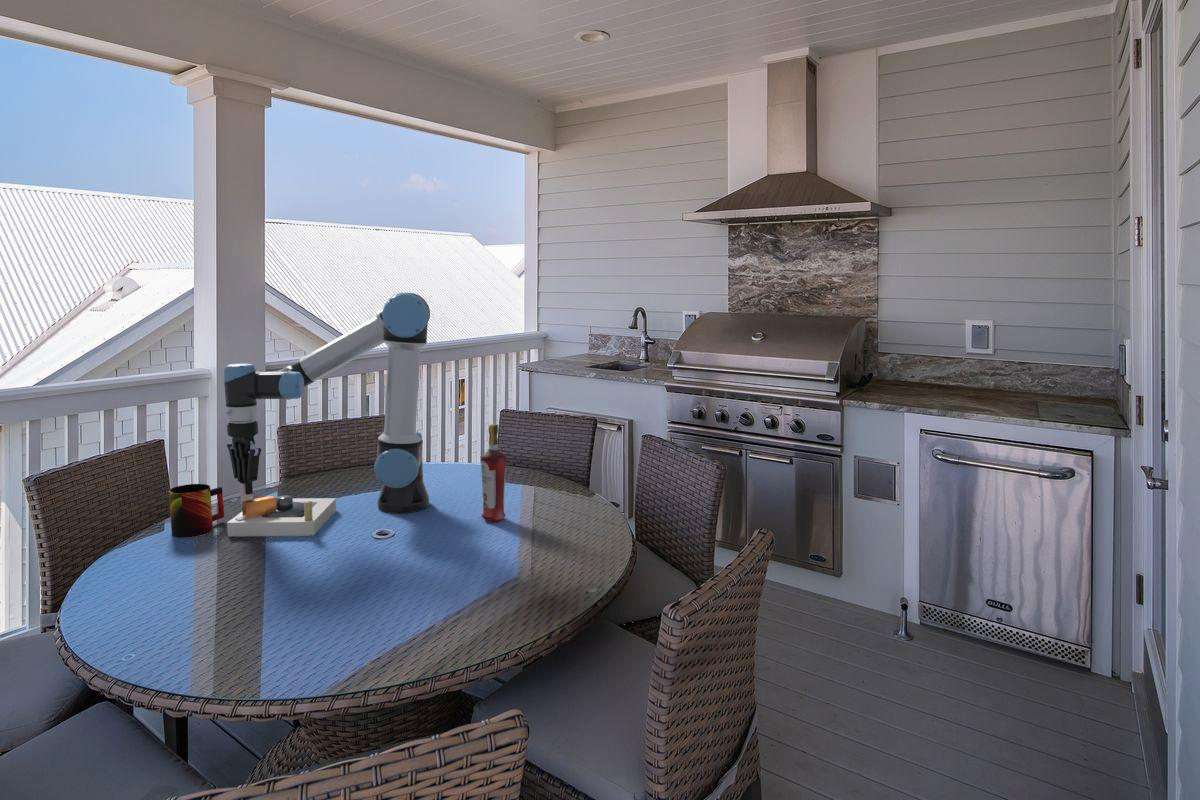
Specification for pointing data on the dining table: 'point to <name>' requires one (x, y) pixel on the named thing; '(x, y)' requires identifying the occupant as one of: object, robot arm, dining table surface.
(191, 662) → the dining table surface
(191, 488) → the mug
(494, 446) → the liquor
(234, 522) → the housing
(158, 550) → the dining table surface
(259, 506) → the dial
